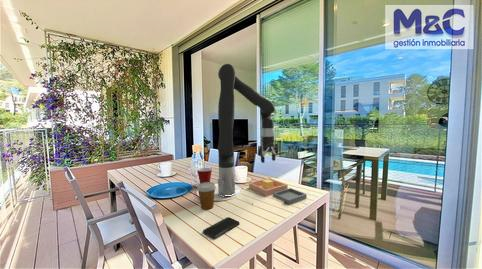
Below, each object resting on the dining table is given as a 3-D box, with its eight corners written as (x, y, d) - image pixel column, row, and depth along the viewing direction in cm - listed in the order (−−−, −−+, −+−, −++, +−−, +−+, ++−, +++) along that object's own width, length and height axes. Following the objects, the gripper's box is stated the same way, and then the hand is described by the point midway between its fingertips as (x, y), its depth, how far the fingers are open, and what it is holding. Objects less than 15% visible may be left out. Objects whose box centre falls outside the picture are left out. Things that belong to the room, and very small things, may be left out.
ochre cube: (267, 190, 125) (267, 182, 124) (262, 188, 129) (262, 180, 128) (273, 188, 127) (273, 181, 127) (268, 186, 131) (268, 179, 131)
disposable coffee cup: (209, 201, 113) (208, 180, 112) (220, 206, 106) (219, 184, 105) (194, 207, 106) (193, 185, 105) (204, 213, 99) (203, 189, 98)
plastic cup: (214, 183, 143) (214, 166, 142) (211, 188, 133) (210, 170, 131) (199, 183, 144) (199, 166, 143) (194, 188, 134) (194, 170, 132)
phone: (240, 222, 89) (214, 238, 78) (240, 224, 89) (214, 240, 78) (227, 216, 94) (201, 230, 83) (228, 219, 94) (201, 233, 83)
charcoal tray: (288, 204, 106) (288, 200, 106) (273, 197, 117) (273, 193, 116) (306, 198, 114) (306, 194, 114) (290, 191, 124) (290, 187, 124)
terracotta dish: (266, 197, 116) (266, 190, 116) (249, 188, 131) (248, 182, 130) (287, 190, 125) (287, 184, 125) (269, 183, 140) (269, 177, 139)
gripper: (272, 134, 132) (272, 158, 133) (254, 135, 124) (255, 162, 125) (280, 135, 125) (281, 160, 127) (262, 136, 118) (263, 164, 119)
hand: (268, 161), depth 126 cm, fingers open, 8 cm apart
